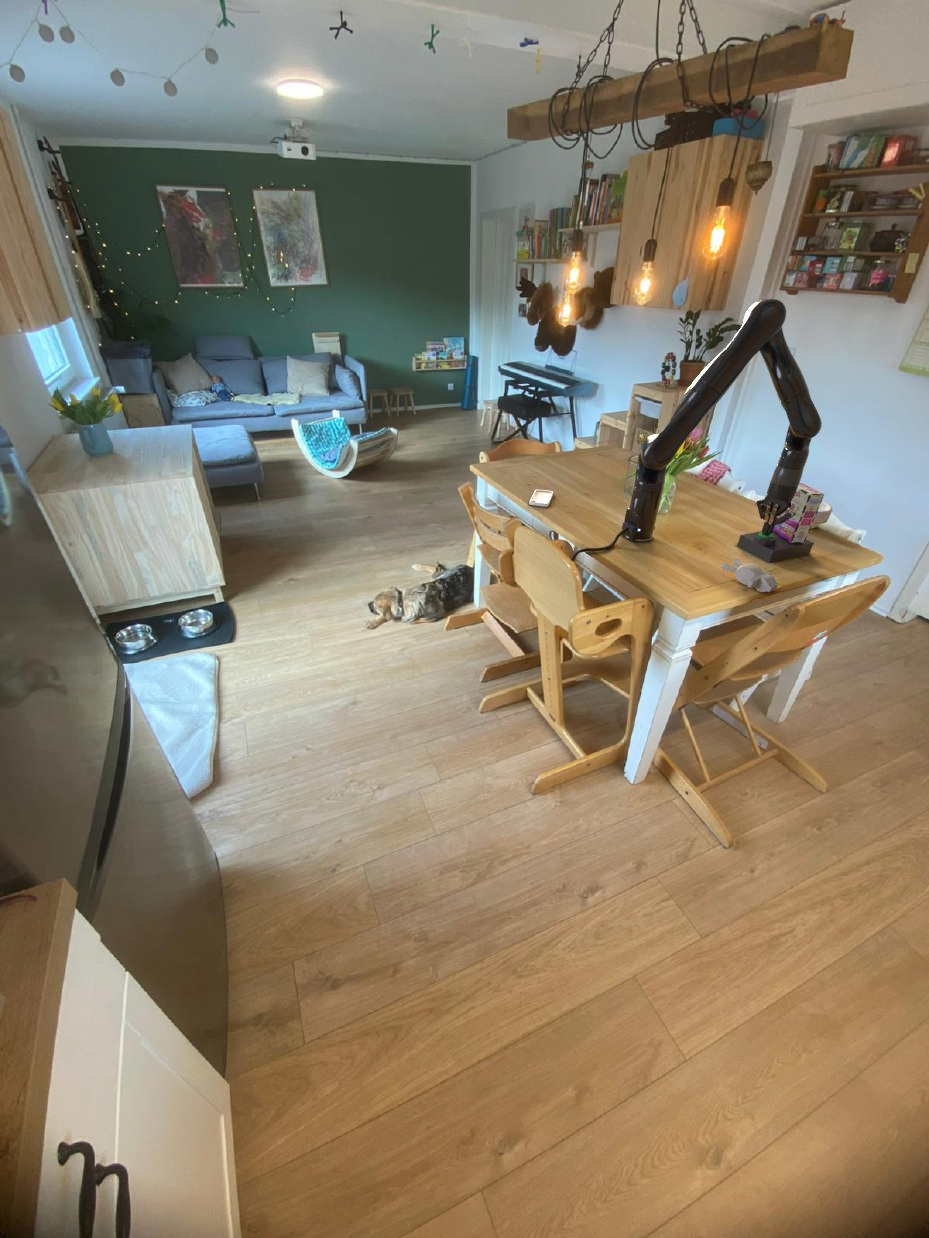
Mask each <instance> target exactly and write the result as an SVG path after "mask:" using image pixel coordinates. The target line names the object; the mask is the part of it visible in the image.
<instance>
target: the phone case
mask: <svg viewBox="0 0 929 1238" xmlns="http://www.w3.org/2000/svg"><path fill="white" fill-rule="evenodd" d="M553 496H554V491H553V490H545V489H538V488H537V489H535V490H534V491H533V493H532V495H531V497H530V499H529V503H528V504H529V505H530V506H537V507H545V508H547V507H549V505H550V503H551V501H552V498H553Z"/></svg>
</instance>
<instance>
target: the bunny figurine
mask: <svg viewBox="0 0 929 1238" xmlns="http://www.w3.org/2000/svg"><path fill="white" fill-rule="evenodd" d="M732 564H734V565H735V566H734V565H732ZM732 564H730V563H726V562H723V563H722V564H721V566H720V568H721V569H722V570H724V571H728V572H732V573H734V575H735V579H736V581H738V582H739V583H740V584H742V585H744V586H747V588H749V589H752V588H755V589H756V591H757V592H760V593H765V592H767V593H770V592H773V591H775V590H776V589H777V588H778V587H779V583H778V582H777V579H776V578H775V577H774V576H773V575H772V573H771V572H769V571H764V570H762V568H761V566H759V565H757V564H755V563H752V562H749V563H743V562H742V561H741V560H740V559H738V558H733V559H732Z"/></svg>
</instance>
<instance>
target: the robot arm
mask: <svg viewBox="0 0 929 1238" xmlns="http://www.w3.org/2000/svg"><path fill="white" fill-rule="evenodd" d="M786 318H787V308H786V305H785V304H784V302H782V301H781V300H779V299H776V298H765V299H761V300H759V301H756V302H755V303H753V304H751V306H750V307H749V308H748V310H747V311H746V312H745V315H744V318H743V323H742V326H741V327H740V329H738V331H737V333H736V334H735V335H734V336H733V339H732V340H731V341H730V342H729V343H728V345H727V346H726V347H725V348H724V349H723V350H722V351H720V353H719V354H718V355H717V356H715V358H714V359H713V360H712V361H710V363H708V364H707V366H705V367H704V369H703V370H702V371H701V372H700V373H699V374H698V375H697V377H696V378H695V379H694V380H693V382H692V383H691V385H690V386H688V388H687V389H686V391H685V393H683V396H682V398H681V400H680V401H679V402H678V405H677V407H676V408H675V410H674V413H673V415H672V416H671V418H670V419H669V421H668V422H667V423H666V425H665V426H664V427H663V429H662V430H661V431H660V432H659V433H658V434H652V435H649V436H648V437H647V438H645V439H644V440H643V442H642V443H641V445H640V449H639V453H638V457H637V462H636V468H635V475H634V484H633V488H632V493H631V497H630V503H629V507H628V508H626V510H625V516H624V520H623V521H622V526H621V530H620V531H619V532H618V534H616V536H615V538H614V540H613V541H612V542H611V543H610V544H609V545H606V546H603V547H586V548H585V547H584V548H581V549H577V550H576V551H575V552H574V553H573V555H572V557H571V558H570V560H571V559H572V560H573V561H574V560H575V559H576V557H577V556H578V555H579V554H581V553H585V552H601V551H605V550H606V551H607V550H610V549H611V548H613V547H614V546H615V545H616V543H617V542H618V540H619V538H620V537H621V536H623V537H625V538H626V539H628V540H629V541H631V542H639V543H645V542H649V541H652V540H653V536H654V530H656V522H657V517H658V513H659V508H660V504H661V500H662V496H663V493H664V487H665V484H666V472H667V468H668V465H669V464H670V463H671V462H672V460H673V459H674V457H675V456H676V455H677V453H678V452H679V450H680V449H681V447H682V446H683V444H684V443H685V441H687V439H688V437H689V436H690V435H691V434H692V432H693V431H695V429H697V427H699V425H700V424H701V423H702V422H703V421H704V419H705V418H706V417H707V416H708V415H709V413H710V412H711V411H712V410H713V409H714V408H715V406H717V404H718V403H719V402H720V401H721V400H722V398H723V397H724V396H725V395H726V393H727V392H728V391H729V390H730V388H731V387H732V386H733V385H734V383H735V382H736V380H737V379H738V378H739V376H740V375H741V374H742V373H743V371H744V370H745V368H746V367H747V365H748V364H749V362H750V361H751V360H752V359H753V358H754V357H755V356H756V354H758V352H759V354H760V355H761V357H762V360H763V361H764V364H765V366H766V369H767V371H768V374H769V377H770V379H771V383H772V385H773V387H774V390H775V393H776V396H777V398H778V400H779V402H780V406H781V407H782V408H783V410H784V411H785V414H786V416H787V419H788V423H789V425H788V428H787V431H786V436H785V439H784V444H783V448H782V451H781V453H780V456H779V459H778V461H777V465H776V466H775V468H774V471H773V473H772V476H771V479H770V482H769V485H768V488H767V490H766V495H765V497H764V498H763V499H760V500H757V501H756V506H757V511H758V514H759V519H761V520H763V525H762V528H761V531H762V534H764V535H770V534H772V532H773V529H774V527H775V525H778V524H782V523H784V522H786V521H787V520H789V519H790V518H792V517H793V516H795V512H792V510H791V509H790V507H791V501H792V499H793V498H794V496H795V493H796V491H797V488H798V485H799V483H801V480H802V477H803V472H804V469H805V466H806V463H807V461H808V458H809V455H810V444H811V442H812V439H813V438H815V437H816V436H817V435H818V434H819V433H820V431H821V430H822V424H823V422H822V419H821V416H820V414H819V412H818V410H817V407H816V406H815V403H814V401H813V399H812V398H811V394H810V390H809V388H808V384H807V382H806V379H805V377H804V374H803V372H802V370H801V368H800V366H799V364H798V363H797V361H796V359H795V357H794V356H793V354H792V351H791V350H790V348H789V345H788V343H787V340H786V337H785V335H784V330H783V326H784V324H785V321H786ZM785 511H786V512H785ZM784 512H785V513H784ZM783 513H784V516H782V514H783ZM781 516H782V517H781ZM780 517H781V518H780ZM572 560H571V561H572Z"/></svg>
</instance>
